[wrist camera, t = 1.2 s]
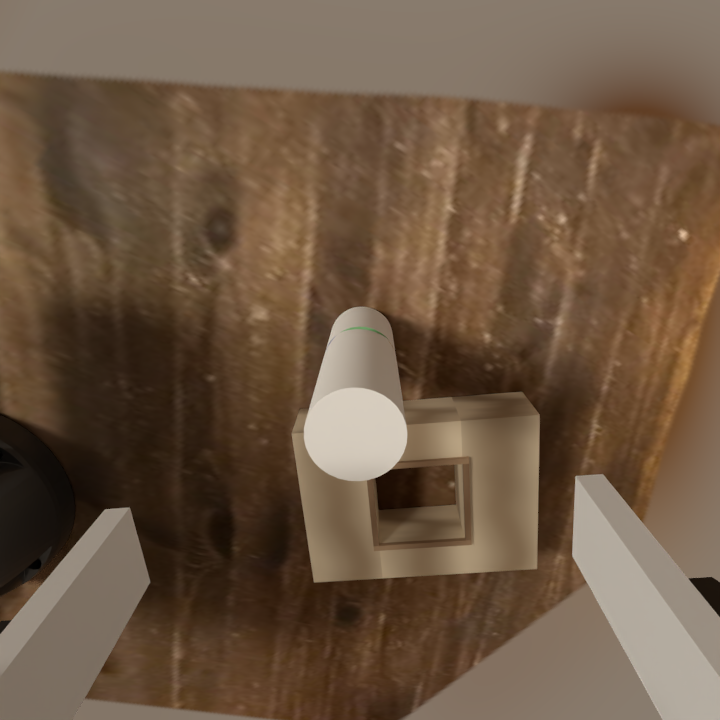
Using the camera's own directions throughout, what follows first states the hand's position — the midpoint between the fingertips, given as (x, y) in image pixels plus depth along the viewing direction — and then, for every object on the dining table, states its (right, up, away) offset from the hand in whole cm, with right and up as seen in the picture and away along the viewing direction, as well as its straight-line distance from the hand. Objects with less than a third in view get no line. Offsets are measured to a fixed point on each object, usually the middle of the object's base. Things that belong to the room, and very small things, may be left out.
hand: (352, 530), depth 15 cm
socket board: (+4, -4, +23) cm, 24 cm away
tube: (0, +7, +20) cm, 21 cm away
